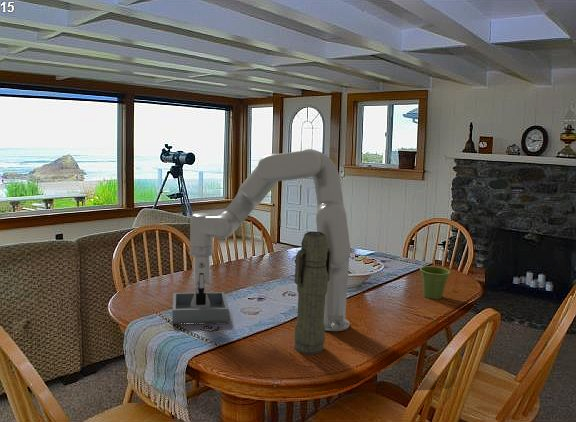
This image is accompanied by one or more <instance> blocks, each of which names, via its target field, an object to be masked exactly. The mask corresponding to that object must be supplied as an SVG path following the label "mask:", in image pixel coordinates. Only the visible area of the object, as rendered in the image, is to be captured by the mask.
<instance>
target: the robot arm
mask: <svg viewBox="0 0 576 422" xmlns="http://www.w3.org/2000/svg"><path fill="white" fill-rule="evenodd" d="M308 178H312V180H313V183H314V191H315V192H314V193H315V197H316V198H315V199H316V206H317V207H316V209H317V210H316V215H315V223H316V232H322V233H323V234H325V235H326V239H327V242H328V248H330V250H331V268H330V279H329V281H328V285H327V293H326V295H325V308H324V326H325V332H327V331H328V332H341V331H344V330H347V329H349V327H350V321H349V320H348V319H346V310H347V309H346V308H347V297H348V281H349V269H350V268H349V267H350V257H351V252H352V251H351V245H350V244H351V243H350V234H349V227H348V219H347V218H348V217H347V211H346V209H345V204H344V197H343V191H342V184H341V178H340V174H339V170H338V168H337V166H336V165H335V163H334V161H333V160H332V159H331V158H330V157H329V156H328V155H326V153H325V154H324V153H323V152H321V151H319V150H316V149H311V148H306V149H304V150H298V151H291V152H284V153H269V154H266V155H264V156H262V157H261V158H260V159H259V161H258V163H257V166H256V167H255V168H254V169H253V171H252V172H251V173H250V174H249V175H248V177H247V178H246V179H244V181H243V183H241V185H240V186H239V188H238V190H237V194H236V195H235V197H234V198H233V199H232V201H230V203H229V204H228V205H227V206H226V208H225V209H224V210H223V211H222V212H221V214H219V215H217V216H213V215H212V214H210V213H207V212H206V213H203V212H196V213H192V214H191V216H190V225H189V227H190V229H189V232H190V233H189V243H190V244H189V255H190V257H191V256H192V257H193V279H194V285H195V286H196V287H197V293H196V305H205V304H206V293H205V290H206V285H207V286H209V285H210V283H211V282H210V280H211V279H210V277H211V275H210V273H211V271H210V269H211V265H210V263H211V260H210V259H211V258H210V256H213V249H214V248H213V247H214V246H213V245H214V238H218V239H227V238H229V237H231V236H232V235H233V234H234V232H236V230H238V228H239V227H240V226H241V224H243V222H244V221H245V220H246V218H248V216H250V214H251V213H252V212H253V211H254V209H255V208H256V207H258V206H259V204H260V203H261V202H262V201H263V200H264V199H265V198H266V197H267V195H268V194H269V193H270V192H271V191H272V189H273V188H274V187H275V186H276V185H277V184H278V182H282V181H293V180H300V179H308ZM198 283H200V284H198ZM203 283H204V284H203ZM199 286H200V287H199ZM196 287H195V288H196Z"/></svg>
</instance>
